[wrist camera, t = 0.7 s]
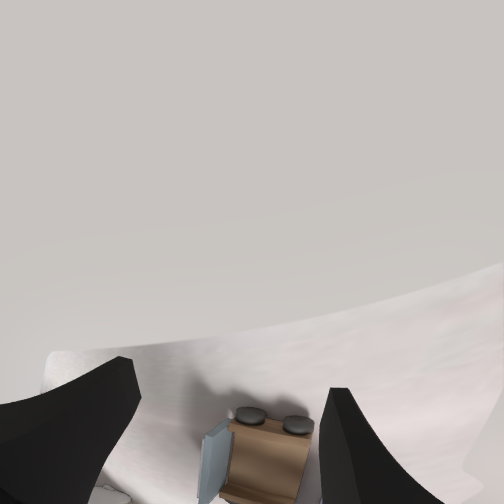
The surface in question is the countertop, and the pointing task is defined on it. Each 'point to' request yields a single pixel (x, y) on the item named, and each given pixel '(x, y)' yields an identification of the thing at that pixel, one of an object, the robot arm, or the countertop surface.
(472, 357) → the countertop surface
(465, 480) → the countertop surface
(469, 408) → the countertop surface
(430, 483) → the countertop surface
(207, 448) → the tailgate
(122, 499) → the tall pale column
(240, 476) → the cart bed
